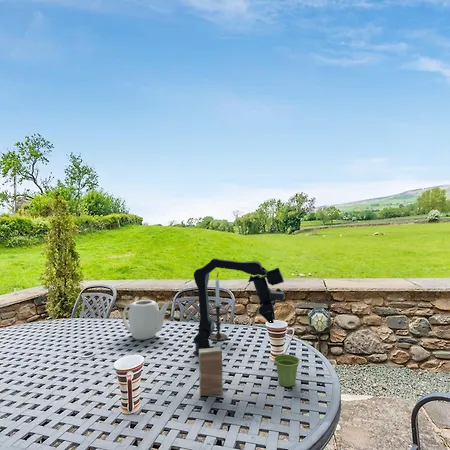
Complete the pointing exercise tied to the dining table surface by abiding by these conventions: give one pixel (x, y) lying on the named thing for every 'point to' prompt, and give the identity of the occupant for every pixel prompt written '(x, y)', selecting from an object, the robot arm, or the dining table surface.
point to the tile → (210, 371)
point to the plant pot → (286, 369)
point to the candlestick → (218, 312)
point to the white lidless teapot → (144, 318)
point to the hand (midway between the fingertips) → (273, 322)
